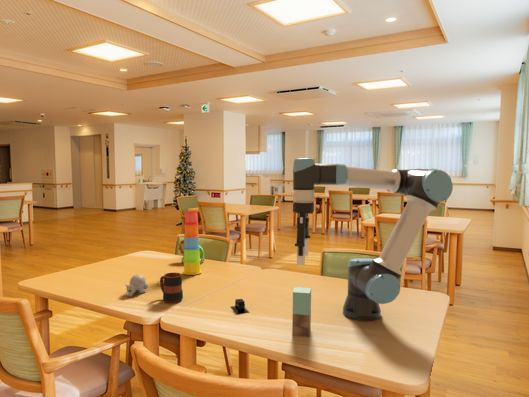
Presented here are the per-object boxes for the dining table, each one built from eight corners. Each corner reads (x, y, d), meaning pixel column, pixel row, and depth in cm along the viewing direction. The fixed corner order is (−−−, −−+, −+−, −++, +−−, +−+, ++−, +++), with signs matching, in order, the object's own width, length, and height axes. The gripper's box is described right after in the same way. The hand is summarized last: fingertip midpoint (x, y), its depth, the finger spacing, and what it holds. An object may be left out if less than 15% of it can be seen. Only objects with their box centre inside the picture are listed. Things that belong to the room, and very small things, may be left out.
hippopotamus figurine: (123, 301, 185) (117, 286, 182) (139, 285, 195) (134, 270, 191) (135, 303, 182) (129, 288, 179) (151, 286, 192) (146, 272, 188)
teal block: (310, 309, 147) (311, 288, 147) (309, 315, 141) (309, 293, 141) (294, 307, 148) (294, 286, 148) (292, 313, 143) (292, 292, 142)
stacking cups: (179, 274, 219) (179, 212, 216) (187, 270, 229) (186, 210, 226) (197, 276, 217) (197, 213, 214) (204, 271, 227) (204, 211, 224)
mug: (167, 294, 187) (167, 270, 186) (186, 299, 180) (186, 273, 179) (153, 299, 179) (153, 274, 178) (173, 304, 173) (173, 278, 172)
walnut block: (310, 330, 148) (310, 309, 147) (308, 337, 142) (309, 315, 141) (294, 328, 149) (294, 307, 148) (292, 335, 143) (292, 313, 143)
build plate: (227, 307, 173) (227, 296, 172) (243, 305, 175) (243, 294, 175) (236, 317, 161) (236, 306, 161) (253, 314, 164) (253, 303, 164)
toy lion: (205, 261, 249) (204, 237, 248) (202, 264, 244) (202, 239, 242) (180, 260, 252) (180, 236, 250) (177, 262, 246) (177, 238, 245)
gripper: (296, 198, 155) (296, 252, 157) (288, 204, 131) (287, 268, 133) (316, 198, 154) (315, 252, 155) (311, 205, 129) (310, 269, 131)
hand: (302, 260), depth 144 cm, fingers open, 13 cm apart
